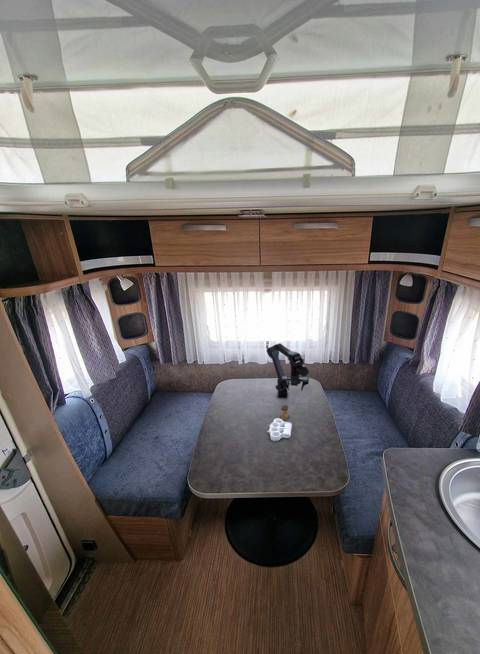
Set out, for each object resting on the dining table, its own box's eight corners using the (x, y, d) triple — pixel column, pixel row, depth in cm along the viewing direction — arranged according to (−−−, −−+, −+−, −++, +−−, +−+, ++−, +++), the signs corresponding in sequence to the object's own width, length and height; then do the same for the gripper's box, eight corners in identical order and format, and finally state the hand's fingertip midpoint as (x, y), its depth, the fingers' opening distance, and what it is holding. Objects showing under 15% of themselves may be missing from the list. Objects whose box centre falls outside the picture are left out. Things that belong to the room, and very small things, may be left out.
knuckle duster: (289, 442, 167) (265, 440, 169) (292, 423, 183) (269, 421, 185) (289, 437, 165) (265, 435, 167) (292, 419, 181) (269, 417, 184)
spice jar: (280, 419, 187) (280, 409, 184) (281, 415, 191) (281, 405, 188) (287, 419, 187) (287, 409, 183) (288, 415, 191) (288, 405, 187)
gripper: (279, 375, 186) (280, 396, 193) (308, 377, 183) (307, 397, 190) (281, 368, 196) (282, 387, 203) (309, 369, 193) (308, 389, 200)
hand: (294, 390), depth 199 cm, fingers open, 9 cm apart
